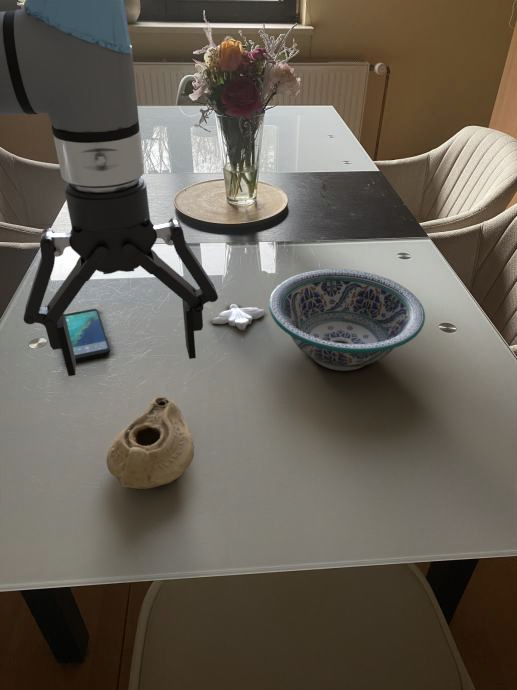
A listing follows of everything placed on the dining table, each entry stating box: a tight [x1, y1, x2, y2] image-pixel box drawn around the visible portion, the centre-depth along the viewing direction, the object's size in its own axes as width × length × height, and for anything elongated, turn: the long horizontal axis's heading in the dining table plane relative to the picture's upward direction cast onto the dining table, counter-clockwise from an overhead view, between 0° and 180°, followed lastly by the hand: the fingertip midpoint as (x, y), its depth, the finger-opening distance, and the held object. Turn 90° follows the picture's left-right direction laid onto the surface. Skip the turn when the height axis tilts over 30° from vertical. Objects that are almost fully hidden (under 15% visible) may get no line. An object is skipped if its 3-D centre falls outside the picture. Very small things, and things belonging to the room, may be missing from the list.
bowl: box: [268, 268, 426, 372], centre depth 90 cm, size 25×25×10 cm
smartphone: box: [64, 308, 111, 363], centre depth 95 cm, size 7×1×15 cm
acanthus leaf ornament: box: [212, 303, 265, 331], centre depth 100 cm, size 8×7×2 cm
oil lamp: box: [106, 396, 195, 490], centre depth 70 cm, size 11×15×8 cm
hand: (132, 360), depth 63 cm, fingers open, 13 cm apart
